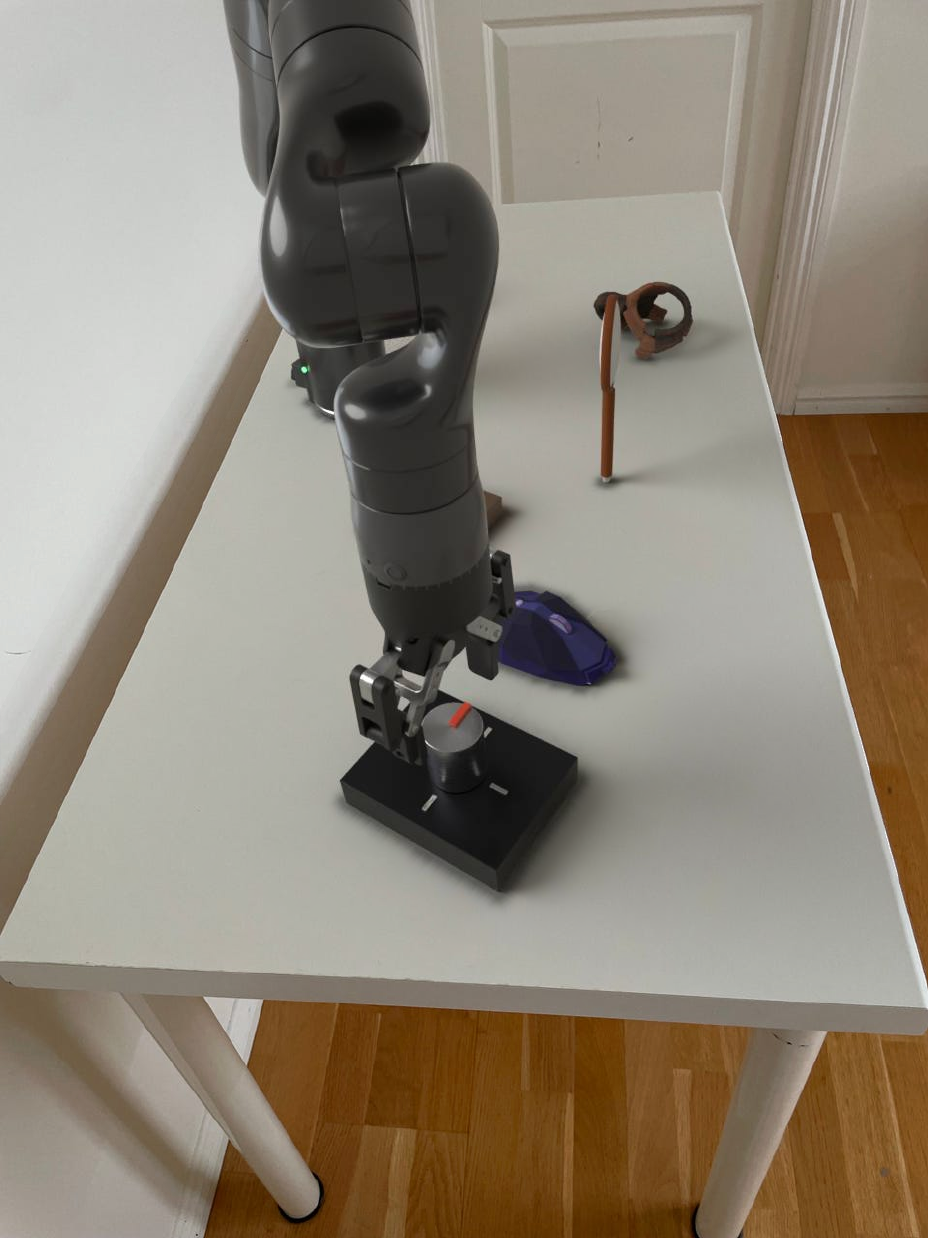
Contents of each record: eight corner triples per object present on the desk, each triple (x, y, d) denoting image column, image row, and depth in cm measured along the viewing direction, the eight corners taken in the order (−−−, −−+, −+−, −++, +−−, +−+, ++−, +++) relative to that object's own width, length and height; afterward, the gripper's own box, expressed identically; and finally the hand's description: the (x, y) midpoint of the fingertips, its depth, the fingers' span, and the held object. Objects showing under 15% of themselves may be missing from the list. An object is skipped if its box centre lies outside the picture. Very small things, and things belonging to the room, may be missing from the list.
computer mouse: (509, 574, 88) (507, 542, 85) (646, 641, 81) (648, 608, 78) (446, 633, 84) (441, 601, 81) (584, 709, 76) (585, 677, 73)
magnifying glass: (610, 508, 94) (616, 323, 80) (592, 507, 94) (595, 323, 80) (618, 457, 100) (625, 277, 85) (602, 456, 100) (607, 276, 86)
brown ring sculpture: (685, 322, 119) (705, 282, 111) (670, 386, 117) (690, 350, 109) (594, 297, 119) (607, 256, 111) (577, 361, 117) (590, 324, 109)
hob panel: (346, 803, 72) (338, 779, 70) (430, 706, 78) (426, 682, 76) (498, 892, 66) (496, 869, 63) (578, 780, 71) (578, 755, 69)
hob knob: (467, 802, 67) (461, 758, 64) (417, 778, 69) (408, 734, 65) (498, 758, 70) (494, 713, 66) (449, 736, 72) (442, 691, 68)
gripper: (442, 452, 59) (463, 629, 71) (290, 589, 51) (342, 762, 63) (544, 488, 56) (549, 668, 67) (398, 640, 48) (432, 813, 60)
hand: (449, 713), depth 65 cm, fingers open, 8 cm apart
